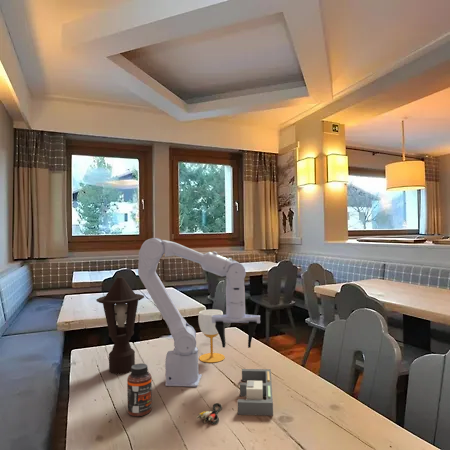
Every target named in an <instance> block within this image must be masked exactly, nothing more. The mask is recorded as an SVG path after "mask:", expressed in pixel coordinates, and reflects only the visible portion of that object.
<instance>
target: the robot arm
mask: <svg viewBox="0 0 450 450" xmlns="http://www.w3.org/2000/svg"><path fill="white" fill-rule="evenodd" d="M218 253H219V252H217V251H212V252H211V251H208V252H206V253H203V252H199V251H197V250H195V249H192V248H189V247H187V246H185V245H184V244H183V245H182V244H180V243H177V242H175V241H171V240H167V239H161V238H159V237H151V238H149V239H146V240H145V241H144V242H143V243H142V245H141V246H140V249H139V250H138V265H137V266H138V267H137V274H138V276H139V279H140V281H141V283H142V284H143V285H144V287H145V289H146V290H147V293H148V294H149V296H150V297H151V298H150V299H152V301H153V303H154V304H155V306H156V308H157V309H158V311H159V313H160V314H161V317H163V320H164V321H165V323H166V325H167V327H168V329H169V332H170V335H171V337H172V338H173V339H172V340H173V346H174V348H173V350H168V351H167V352H166V355H165V360H164V361H165V362H164V363H165V364H164V365H165V367H164V368H165V386H166V387H192V388H193V387H198V386H199V384H200V381H201V379H202V376H203V375H202V373H199V349H198V347H197V340H196V339H197V338H196V337H197V333H196V332H197V331H196V330H195V328H194V327H193V326H192V325H190V324H189V323H188V322H187V320H186V319H185V318H184V317H183V315H182V314H181V312H180V311H179V309H178V307H177V305H176V304H175V302H174V300H173V299H172V297H171V295H170V294H169V292H168V290H167V289H166V287H165V285H164V283H163V282H162V280H161V278H160V277H159V275H158V273H157V268H158V266H159V265H158V264H159V262H160V260H161V258H162V257H163V256H164V258H166V257H173V256H176V257H179V258H182V259H185V260H188V261H191V262H193V263H197V264H200V267H201V268H202V270H203V271H206V272H208V273H211V274H214V275H216V276H219V277H226V280H225V281H226V282H225V283H226V286H225V303H226V305H225V307H226V310H225V311H226V312H225V313H226V314H223V315H213V316H212V323H216V324H215V327H216V329H217V331H218V333H219V334H218V335H219V338H220V341H221V345H222V348H226V331H225V330H226V323H229V324H230V323H234V324H235V323H243V324H245V323H248V324H247V332H248V335H247V336H248V340H247V348H249V349H250V348H251V347H252V346H251V345H252V339H253V336H254V333H255V331H256V328H257V325H258V324H261V315H259V314H258V315H257V314H248V313H247V314H246V290H245V278H246V276H247V272H246V268H245V267H244V265H243V264H242V263H240V262H238V261H237V260H235V259H234V260H233V258H232V257H228V258H227V257H225V256H221V255H220V254H218Z"/></svg>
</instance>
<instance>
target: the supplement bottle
mask: <svg viewBox="0 0 450 450" xmlns="http://www.w3.org/2000/svg"><path fill="white" fill-rule="evenodd" d="M148 369H149V368H148V364H147V363H142V362H141V363H135V365H133V366H132V367H131V372H130V374H129V375H128V377H127V380H126V381H127V383H126V385H127V386H126V387H127V390H126V391H127V413H128V414H129V415H130V416H132V417H142V416H146V415H148V414H149V413H150V412H151V411H152V409H153V405H152V403H153V397H152V396H153V394H152V393H153V392H152V391H153V388H152V387H153V385H152V383H153V382H152V374H151V373H150V372H149V371H148Z"/></svg>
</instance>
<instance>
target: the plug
mask: <svg viewBox="0 0 450 450" xmlns="http://www.w3.org/2000/svg"><path fill="white" fill-rule="evenodd" d="M246 383H247V388H246V394H247V396H246V399H249V400H264V397H263V385H262V383H263V381H248V380H247V381H246Z"/></svg>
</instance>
